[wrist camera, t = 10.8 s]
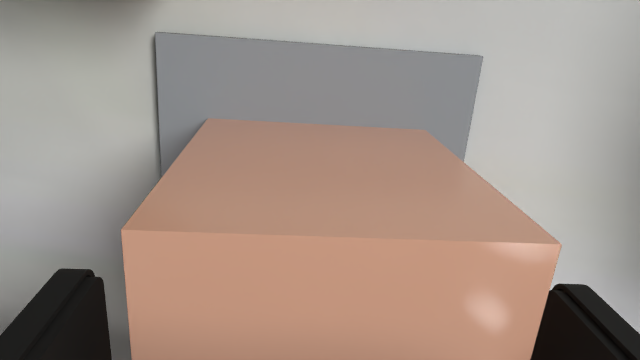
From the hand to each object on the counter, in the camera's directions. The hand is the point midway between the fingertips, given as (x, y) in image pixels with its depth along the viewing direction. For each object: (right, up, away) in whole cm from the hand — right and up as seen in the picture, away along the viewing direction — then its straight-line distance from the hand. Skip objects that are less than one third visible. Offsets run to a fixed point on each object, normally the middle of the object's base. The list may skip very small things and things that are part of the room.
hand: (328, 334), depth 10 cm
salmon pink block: (0, +2, +6) cm, 6 cm away
